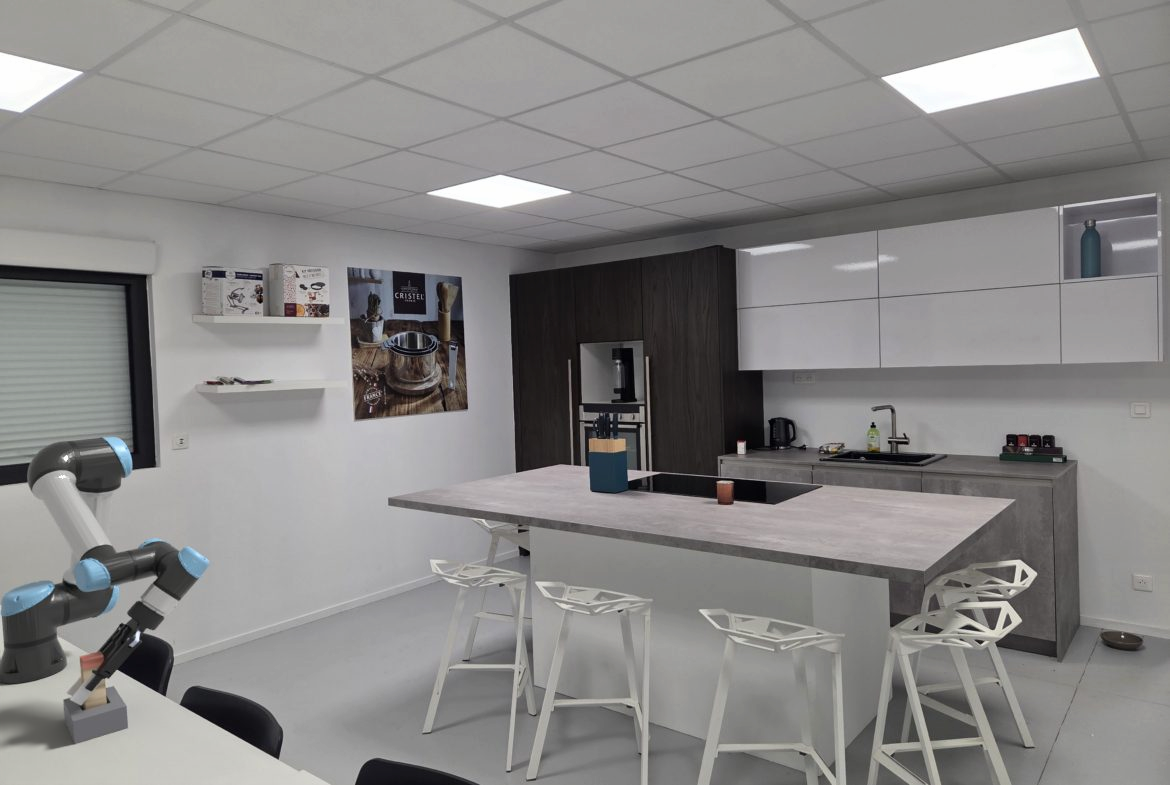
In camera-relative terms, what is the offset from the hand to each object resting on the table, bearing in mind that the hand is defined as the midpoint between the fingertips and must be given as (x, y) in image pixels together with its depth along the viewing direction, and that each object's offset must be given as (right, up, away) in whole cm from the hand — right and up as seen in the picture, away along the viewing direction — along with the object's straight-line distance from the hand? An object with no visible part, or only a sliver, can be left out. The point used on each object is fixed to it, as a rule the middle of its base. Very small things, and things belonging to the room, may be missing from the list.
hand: (73, 698), depth 169 cm
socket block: (+3, -7, +3) cm, 8 cm away
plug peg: (+3, -3, +3) cm, 5 cm away
